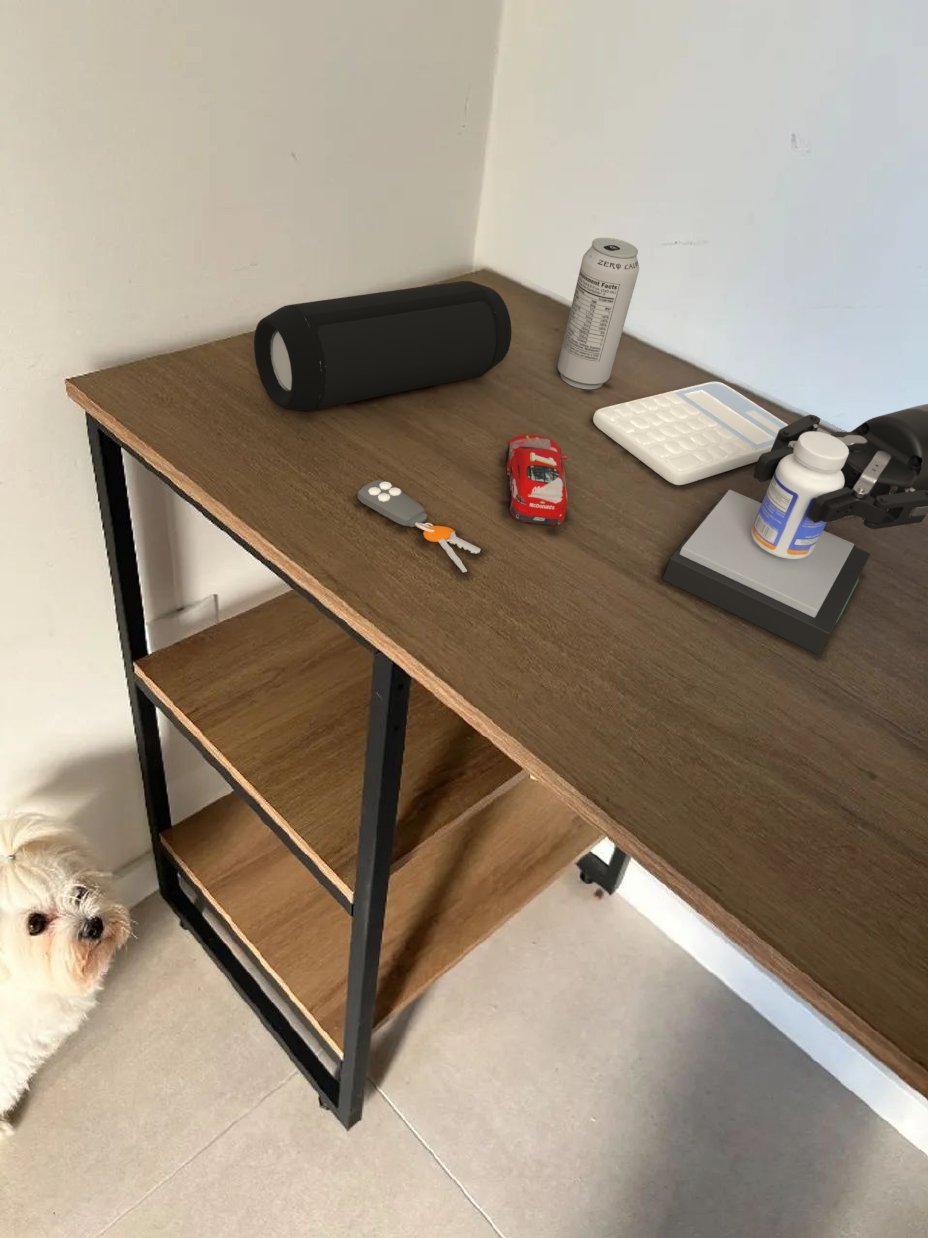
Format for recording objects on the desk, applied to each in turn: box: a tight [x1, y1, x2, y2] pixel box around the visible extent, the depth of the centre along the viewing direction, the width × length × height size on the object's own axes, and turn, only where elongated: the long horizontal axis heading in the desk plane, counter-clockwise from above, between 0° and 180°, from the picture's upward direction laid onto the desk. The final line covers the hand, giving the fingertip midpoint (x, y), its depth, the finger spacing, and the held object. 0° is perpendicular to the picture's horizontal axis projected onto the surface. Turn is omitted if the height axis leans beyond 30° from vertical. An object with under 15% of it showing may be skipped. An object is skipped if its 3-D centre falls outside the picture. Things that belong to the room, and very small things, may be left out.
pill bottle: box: [752, 431, 849, 559], centre depth 76 cm, size 5×5×10 cm
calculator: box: [592, 380, 789, 486], centre depth 99 cm, size 13×20×2 cm, turn 125°
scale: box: [662, 489, 871, 656], centre depth 81 cm, size 14×14×3 cm
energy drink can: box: [557, 237, 640, 390], centre depth 101 cm, size 6×6×15 cm
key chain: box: [357, 479, 482, 573], centre depth 79 cm, size 13×4×2 cm, turn 50°
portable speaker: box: [253, 280, 513, 412], centre depth 94 cm, size 26×10×10 cm, turn 126°
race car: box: [505, 434, 569, 527], centre depth 86 cm, size 13×5×4 cm, turn 178°
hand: (786, 489), depth 74 cm, fingers closed on pill bottle, 5 cm apart
